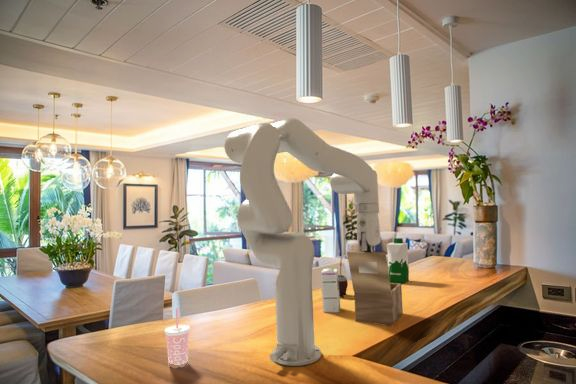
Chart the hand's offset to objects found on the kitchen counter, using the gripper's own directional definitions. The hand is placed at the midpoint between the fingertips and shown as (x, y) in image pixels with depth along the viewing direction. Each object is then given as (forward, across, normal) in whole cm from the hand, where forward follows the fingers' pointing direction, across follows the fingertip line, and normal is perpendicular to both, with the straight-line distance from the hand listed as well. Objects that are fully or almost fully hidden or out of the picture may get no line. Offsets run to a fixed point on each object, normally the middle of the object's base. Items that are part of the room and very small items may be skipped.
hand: (369, 267), depth 118 cm
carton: (+18, +8, 0) cm, 20 cm away
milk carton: (+19, +64, +6) cm, 67 cm away
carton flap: (+1, -1, 0) cm, 1 cm away
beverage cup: (+18, -46, +36) cm, 62 cm away
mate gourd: (+18, +32, +23) cm, 43 cm away
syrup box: (+18, +10, +18) cm, 28 cm away
